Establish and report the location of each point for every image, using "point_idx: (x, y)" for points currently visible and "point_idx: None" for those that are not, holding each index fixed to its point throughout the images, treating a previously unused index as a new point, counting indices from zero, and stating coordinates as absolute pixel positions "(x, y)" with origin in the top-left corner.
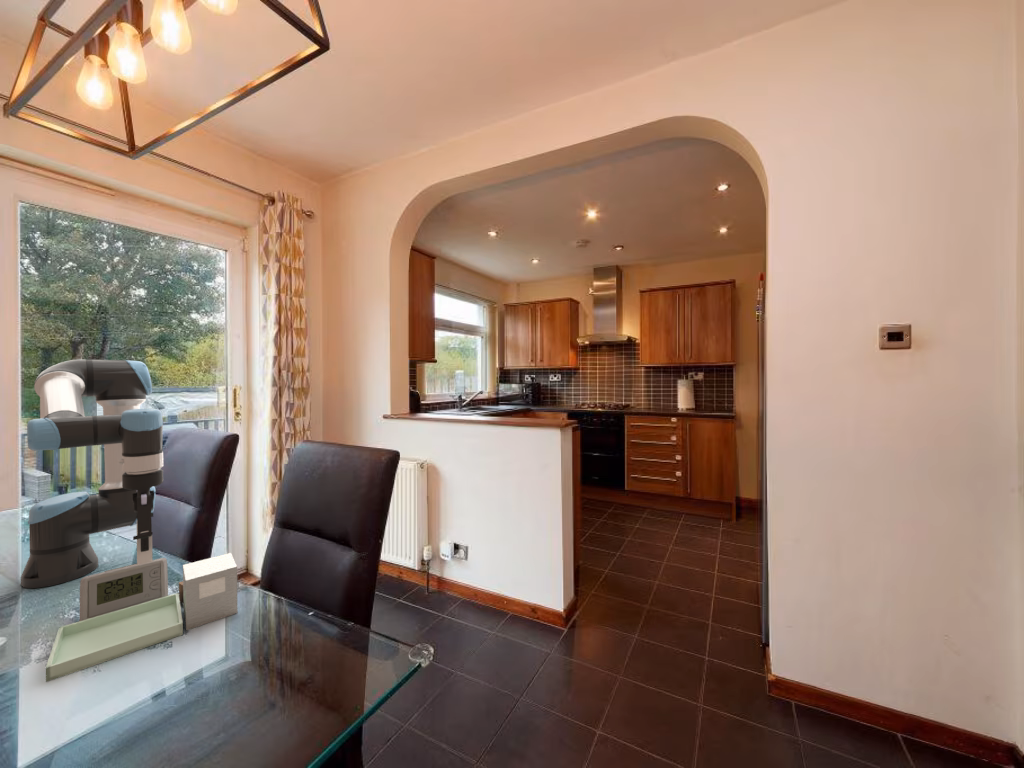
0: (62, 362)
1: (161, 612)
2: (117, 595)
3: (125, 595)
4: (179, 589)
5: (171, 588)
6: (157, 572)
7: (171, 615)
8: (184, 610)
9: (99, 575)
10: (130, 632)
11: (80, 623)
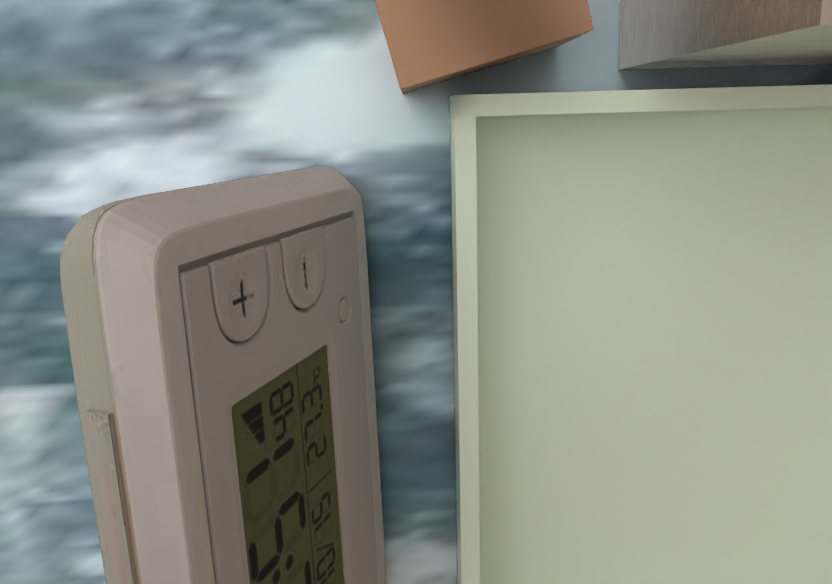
0: None
1: (565, 205)
2: (321, 506)
3: (325, 453)
4: (417, 86)
5: (123, 141)
6: (242, 275)
7: (667, 145)
8: (778, 61)
9: None
10: (717, 363)
11: None
